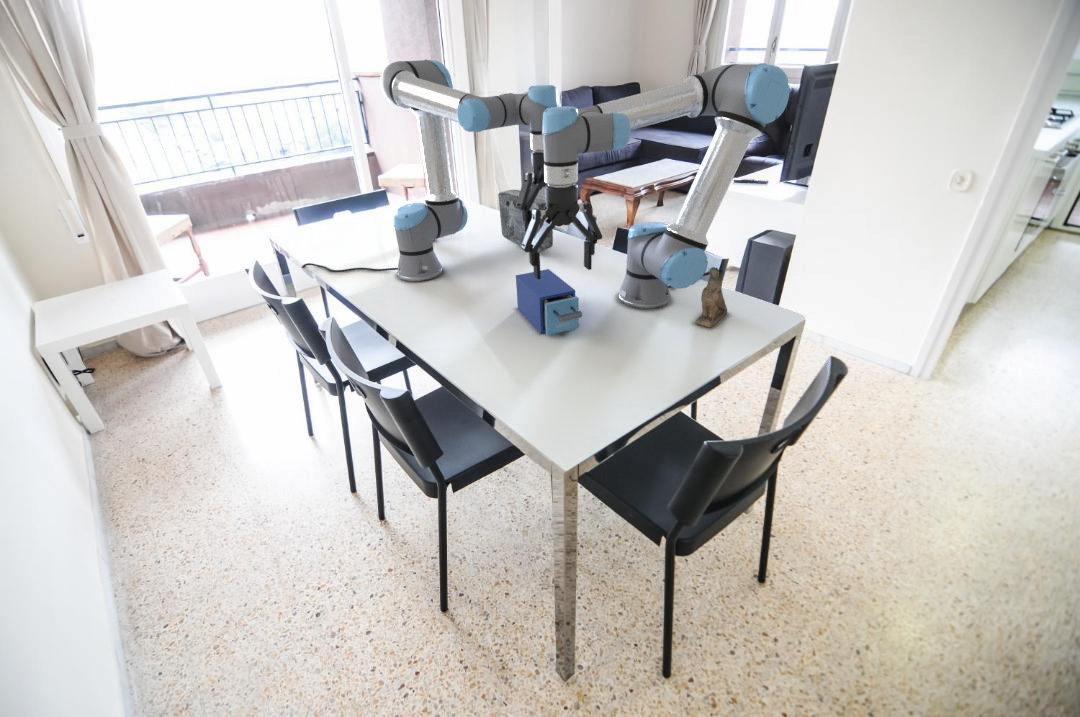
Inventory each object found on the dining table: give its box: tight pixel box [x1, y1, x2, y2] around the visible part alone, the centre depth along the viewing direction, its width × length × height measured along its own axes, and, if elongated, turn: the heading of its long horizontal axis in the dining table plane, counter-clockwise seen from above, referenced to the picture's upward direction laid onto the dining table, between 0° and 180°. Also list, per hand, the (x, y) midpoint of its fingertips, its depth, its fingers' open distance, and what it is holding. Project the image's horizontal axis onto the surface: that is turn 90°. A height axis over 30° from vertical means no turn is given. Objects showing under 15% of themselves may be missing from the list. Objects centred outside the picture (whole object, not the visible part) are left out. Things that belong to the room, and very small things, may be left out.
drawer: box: [543, 294, 583, 336], centre depth 136 cm, size 22×9×9 cm, turn 23°
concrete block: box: [497, 189, 554, 252], centre depth 191 cm, size 27×9×20 cm, turn 36°
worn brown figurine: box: [695, 266, 728, 328], centre depth 135 cm, size 12×6×18 cm, turn 136°
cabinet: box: [515, 268, 576, 334], centre depth 141 cm, size 18×10×11 cm, turn 23°
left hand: (547, 228), depth 145 cm, fingers open, 13 cm apart
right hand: (562, 272), depth 123 cm, fingers open, 13 cm apart
